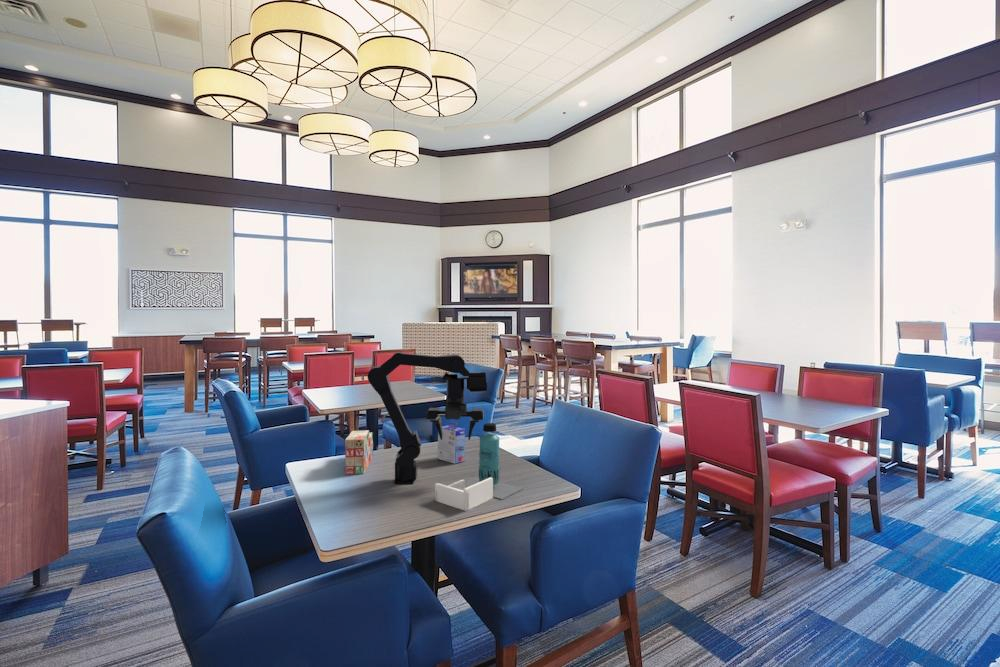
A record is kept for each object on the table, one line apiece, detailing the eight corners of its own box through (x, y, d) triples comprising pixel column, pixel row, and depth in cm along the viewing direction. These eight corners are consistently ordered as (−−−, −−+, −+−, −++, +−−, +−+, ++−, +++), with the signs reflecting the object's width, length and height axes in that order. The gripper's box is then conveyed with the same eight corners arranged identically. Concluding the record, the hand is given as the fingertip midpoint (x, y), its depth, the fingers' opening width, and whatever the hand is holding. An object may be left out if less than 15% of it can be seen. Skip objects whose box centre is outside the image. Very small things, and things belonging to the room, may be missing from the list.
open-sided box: (435, 500, 137) (435, 480, 137) (462, 489, 147) (462, 469, 147) (466, 511, 130) (466, 489, 130) (492, 498, 140) (493, 477, 139)
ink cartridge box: (466, 461, 175) (466, 422, 175) (455, 464, 171) (455, 425, 171) (447, 456, 182) (447, 418, 181) (437, 459, 178) (437, 421, 177)
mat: (456, 486, 149) (456, 485, 149) (478, 477, 158) (478, 476, 158) (502, 499, 138) (502, 498, 138) (523, 489, 147) (523, 488, 147)
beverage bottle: (479, 482, 151) (479, 421, 151) (500, 483, 151) (500, 421, 150) (477, 490, 145) (478, 425, 144) (499, 490, 145) (499, 426, 144)
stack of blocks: (356, 456, 181) (356, 424, 180) (373, 456, 182) (373, 424, 181) (345, 475, 160) (344, 439, 159) (364, 474, 160) (363, 438, 160)
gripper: (422, 396, 148) (422, 445, 148) (481, 397, 147) (481, 446, 148) (429, 391, 159) (429, 436, 159) (484, 391, 158) (484, 437, 159)
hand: (455, 439), depth 156 cm, fingers open, 9 cm apart
